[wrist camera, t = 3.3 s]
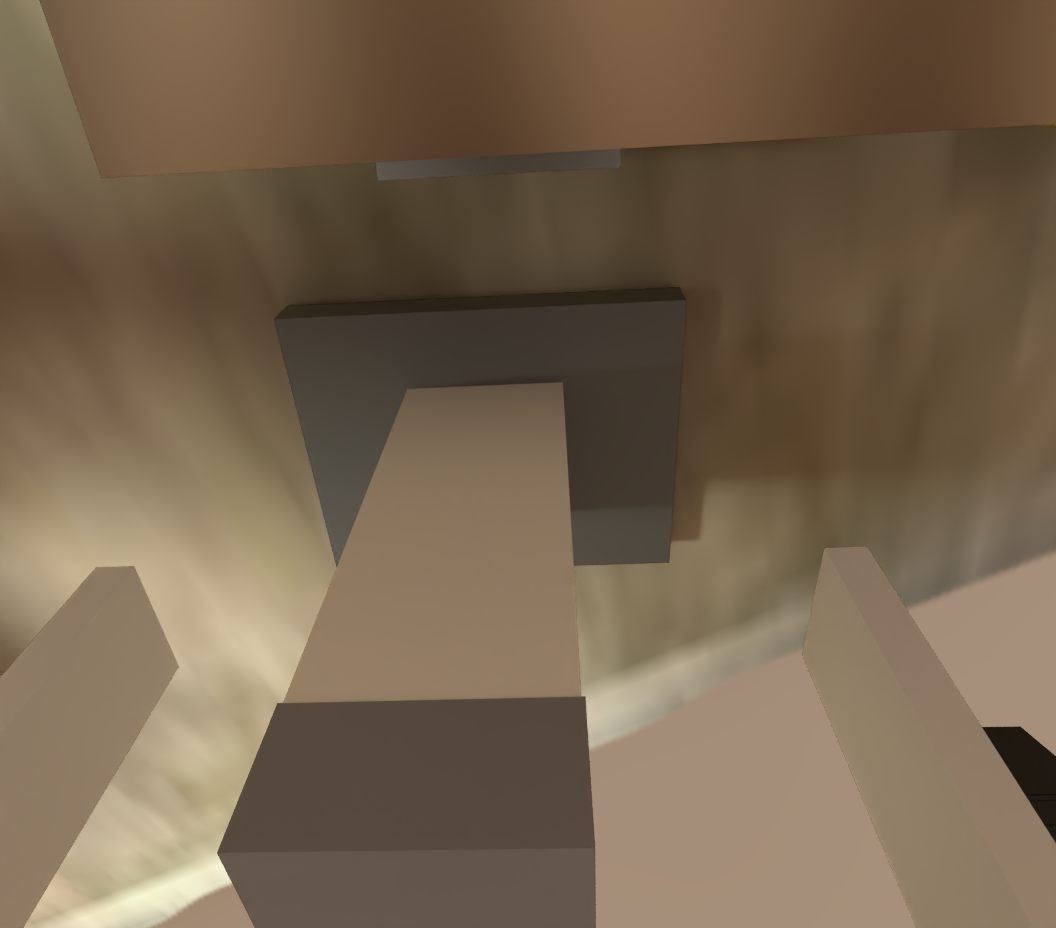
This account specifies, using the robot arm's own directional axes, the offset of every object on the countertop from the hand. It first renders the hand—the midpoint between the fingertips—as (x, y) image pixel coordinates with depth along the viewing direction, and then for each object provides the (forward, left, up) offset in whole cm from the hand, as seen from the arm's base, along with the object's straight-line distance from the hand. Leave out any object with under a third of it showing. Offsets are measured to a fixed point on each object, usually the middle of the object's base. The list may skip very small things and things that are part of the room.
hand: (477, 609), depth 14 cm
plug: (0, 0, -6) cm, 6 cm away
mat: (0, 0, -7) cm, 7 cm away
